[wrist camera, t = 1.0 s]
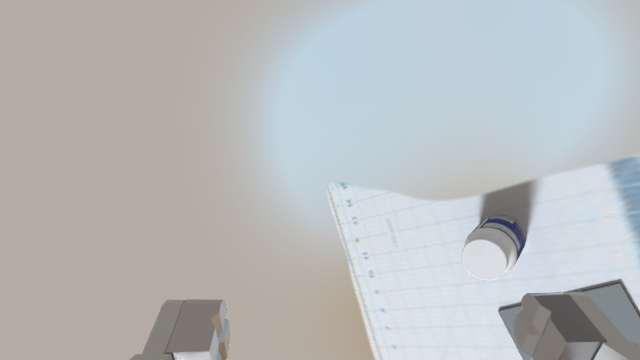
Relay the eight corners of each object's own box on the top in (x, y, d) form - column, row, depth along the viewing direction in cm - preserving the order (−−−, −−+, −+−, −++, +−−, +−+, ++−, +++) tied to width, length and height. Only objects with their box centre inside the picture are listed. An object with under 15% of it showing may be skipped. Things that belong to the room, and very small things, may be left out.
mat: (619, 282, 42) (619, 283, 42) (680, 387, 41) (680, 389, 40) (498, 310, 51) (498, 311, 50) (544, 398, 49) (544, 400, 49)
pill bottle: (496, 264, 50) (476, 293, 42) (469, 227, 51) (445, 249, 44) (537, 244, 47) (523, 271, 39) (507, 205, 48) (488, 224, 40)
